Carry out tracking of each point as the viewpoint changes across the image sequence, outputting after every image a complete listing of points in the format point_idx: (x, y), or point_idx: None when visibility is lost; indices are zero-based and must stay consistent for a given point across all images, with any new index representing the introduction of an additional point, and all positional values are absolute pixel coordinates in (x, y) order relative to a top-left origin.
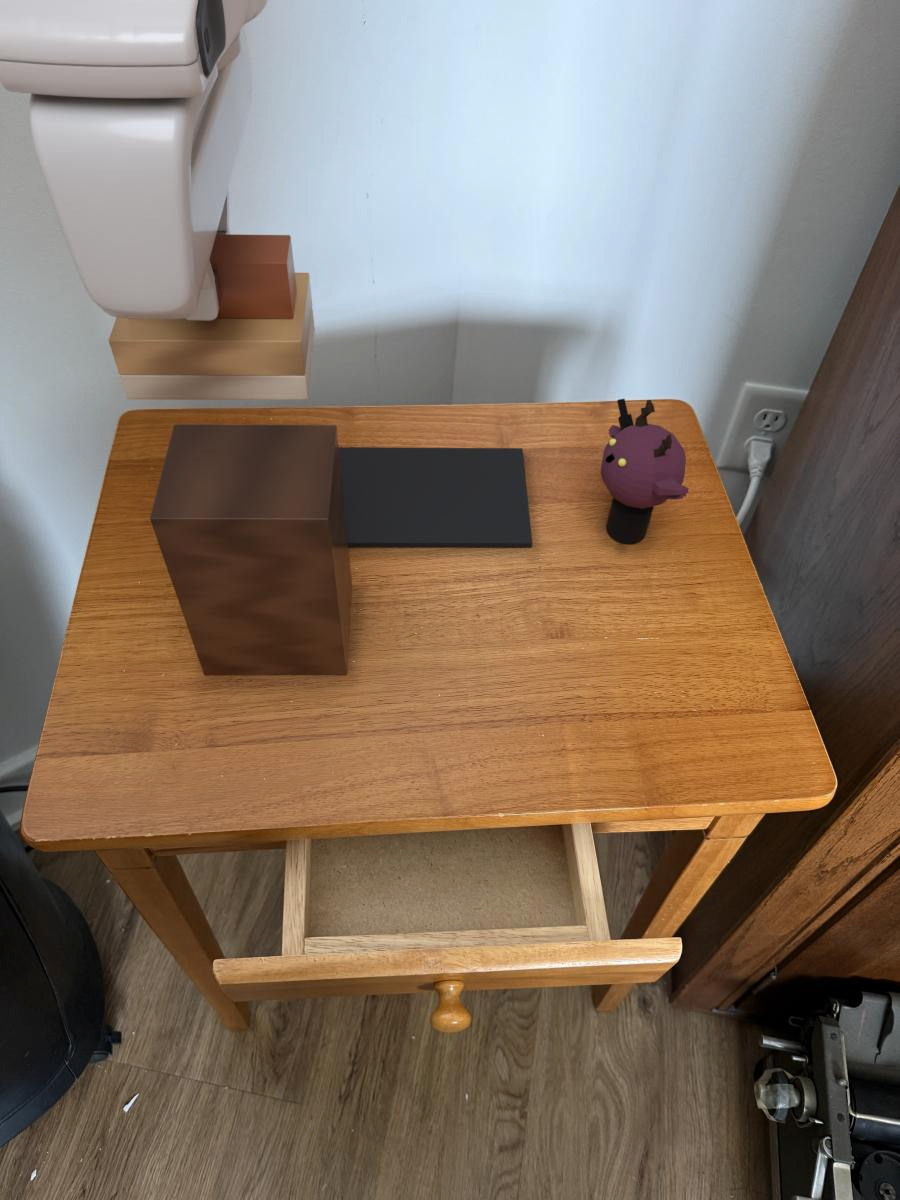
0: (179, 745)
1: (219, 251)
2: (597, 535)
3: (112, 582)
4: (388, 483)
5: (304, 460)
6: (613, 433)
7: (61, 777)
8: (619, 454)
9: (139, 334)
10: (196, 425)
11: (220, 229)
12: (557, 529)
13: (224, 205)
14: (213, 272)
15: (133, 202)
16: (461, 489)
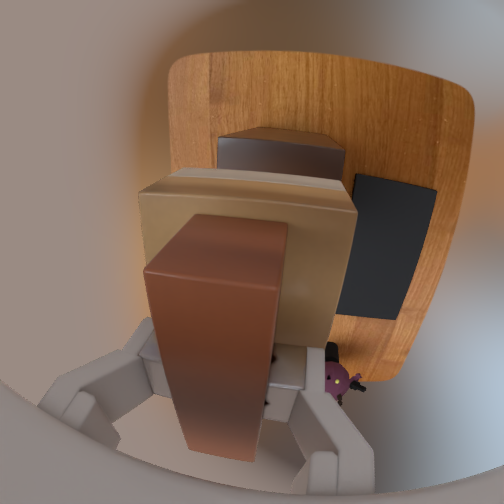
0: (212, 118)
1: (202, 418)
2: (328, 337)
3: (336, 68)
4: (392, 248)
5: None
6: (356, 376)
7: (197, 63)
8: (326, 382)
9: (154, 237)
10: (339, 171)
11: (290, 420)
12: (336, 323)
13: (304, 454)
14: (169, 395)
15: None
16: (375, 286)
